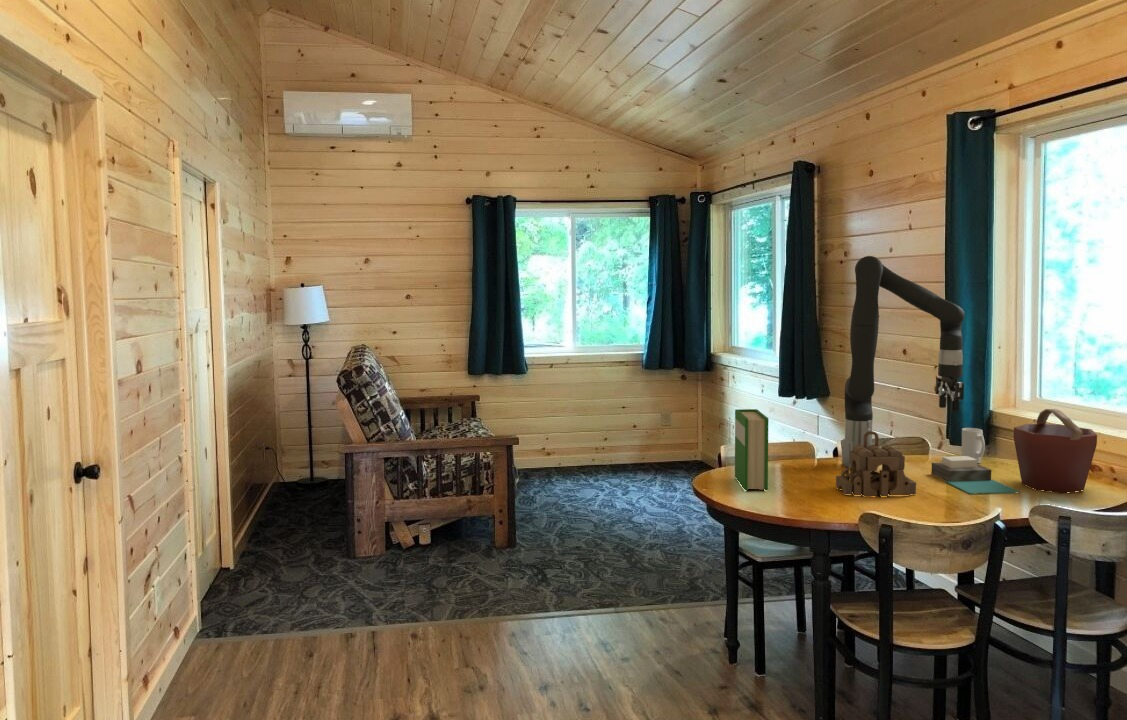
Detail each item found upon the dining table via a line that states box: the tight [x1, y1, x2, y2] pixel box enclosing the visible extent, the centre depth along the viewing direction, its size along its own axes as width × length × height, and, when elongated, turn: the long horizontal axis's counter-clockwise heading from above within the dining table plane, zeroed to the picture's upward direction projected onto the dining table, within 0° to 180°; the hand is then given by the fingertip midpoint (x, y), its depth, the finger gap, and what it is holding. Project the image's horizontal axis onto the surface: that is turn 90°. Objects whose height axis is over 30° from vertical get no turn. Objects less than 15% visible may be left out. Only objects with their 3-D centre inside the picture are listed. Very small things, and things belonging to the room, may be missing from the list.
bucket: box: [1013, 408, 1098, 494], centre depth 256 cm, size 24×22×25 cm
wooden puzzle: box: [835, 430, 917, 497], centre depth 255 cm, size 22×15×19 cm, turn 89°
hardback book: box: [734, 408, 769, 491], centre depth 265 cm, size 18×7×24 cm, turn 178°
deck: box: [930, 461, 992, 482], centre depth 270 cm, size 14×12×4 cm
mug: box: [961, 427, 986, 464], centre depth 291 cm, size 10×7×12 cm, turn 9°
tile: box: [941, 455, 978, 468], centre depth 271 cm, size 9×6×2 cm, turn 92°
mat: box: [944, 478, 1021, 495], centre depth 258 cm, size 16×15×1 cm
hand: (948, 409), depth 277 cm, fingers open, 7 cm apart
